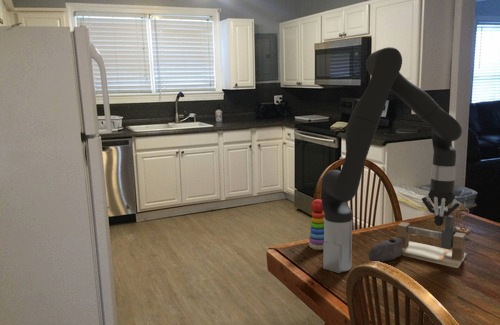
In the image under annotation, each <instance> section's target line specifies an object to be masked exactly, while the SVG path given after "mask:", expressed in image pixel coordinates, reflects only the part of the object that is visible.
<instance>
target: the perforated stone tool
mask: <svg viewBox="0 0 500 325" xmlns="http://www.w3.org/2000/svg"><path fill="white" fill-rule="evenodd" d="M402 242H403V241H402V240H401V239H400V238H397V237H395V238H390V239H389V238H388V239H386V240H383V241H381V242H379V243H377V244H375V245H374V246H373V247H372V248H371V249H369V252H368V259H369V261H371V262H372V261H381V262H380V263H382V262H387V261H393V260H395V259H397V258H400V257H401V256H402V255H401V253H402Z"/></svg>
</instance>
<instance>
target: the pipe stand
mask: <svg viewBox="0 0 500 325" xmlns="http://www.w3.org/2000/svg"><path fill="white" fill-rule="evenodd" d="M410 225H411V224H410V223H409V222H405V221H404V222H403V221H401V222H400V223H399V224H397V237H396V238H400V239H401V240H402V241H403V242H402V253H401V256H404V257H409V258H413V259H417V260H421V261H425V262H430V263H433V264H439V265H443V266H447V267H450V268H454V269H455V268H456V269H459V268H460V266H461V265H462V263H463V262H464V261H465V259H466V257H467V254H468V253H467V252H465V250H466V249H465V248H466V247H465V245H466V236H467V234H463V233H458V232H456V233H455V234H454V235H453V234H452V241H453V247H452V248H451V249H450V250H449V249H444V248H441V246H435V245H429V244H425V243H420V242H416V241H411V240H410V234H414V235H418V236H422V237H429V238H434V239H438V240H441V238H442V231H438V230H431V229H426V228H421V227H416V226H410Z"/></svg>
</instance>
